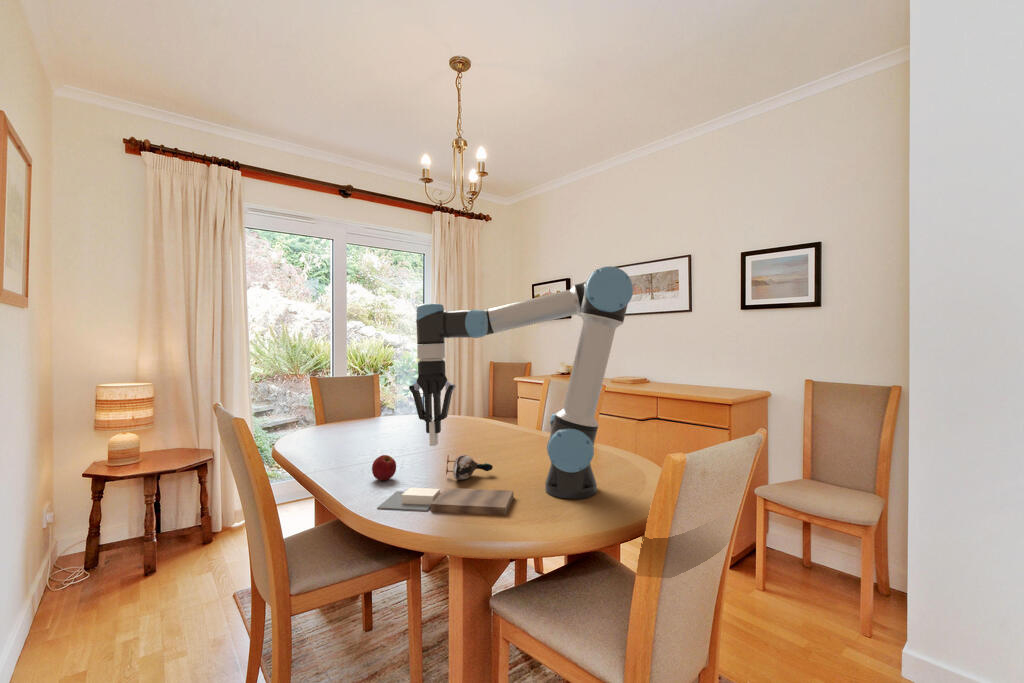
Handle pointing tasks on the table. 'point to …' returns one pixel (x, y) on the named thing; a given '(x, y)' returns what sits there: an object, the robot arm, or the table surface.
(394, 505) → the mat
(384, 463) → the apple
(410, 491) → the tile
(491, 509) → the brown wooden board
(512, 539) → the table surface
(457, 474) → the decorative duck model
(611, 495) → the table surface
